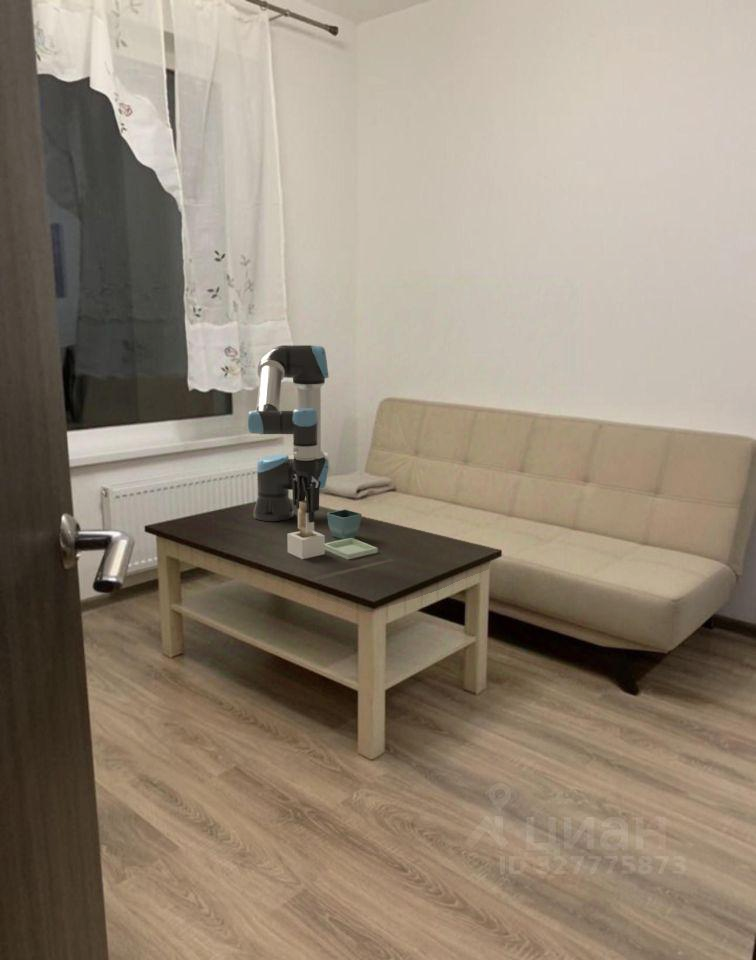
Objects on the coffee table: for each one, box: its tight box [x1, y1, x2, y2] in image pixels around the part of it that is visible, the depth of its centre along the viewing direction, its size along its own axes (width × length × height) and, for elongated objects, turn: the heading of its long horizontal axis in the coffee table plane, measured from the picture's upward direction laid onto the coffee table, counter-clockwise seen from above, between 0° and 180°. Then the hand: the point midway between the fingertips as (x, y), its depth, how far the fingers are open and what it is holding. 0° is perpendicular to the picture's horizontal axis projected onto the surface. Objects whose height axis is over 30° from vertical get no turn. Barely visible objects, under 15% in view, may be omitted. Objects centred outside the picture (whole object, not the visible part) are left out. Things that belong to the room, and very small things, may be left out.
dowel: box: [299, 499, 312, 538], centre depth 240 cm, size 4×4×16 cm
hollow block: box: [286, 530, 326, 560], centre depth 242 cm, size 9×9×7 cm
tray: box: [325, 537, 378, 560], centre depth 245 cm, size 14×12×2 cm
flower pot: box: [326, 509, 363, 540], centre depth 260 cm, size 9×9×9 cm
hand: (305, 529), depth 241 cm, fingers closed on dowel, 4 cm apart
